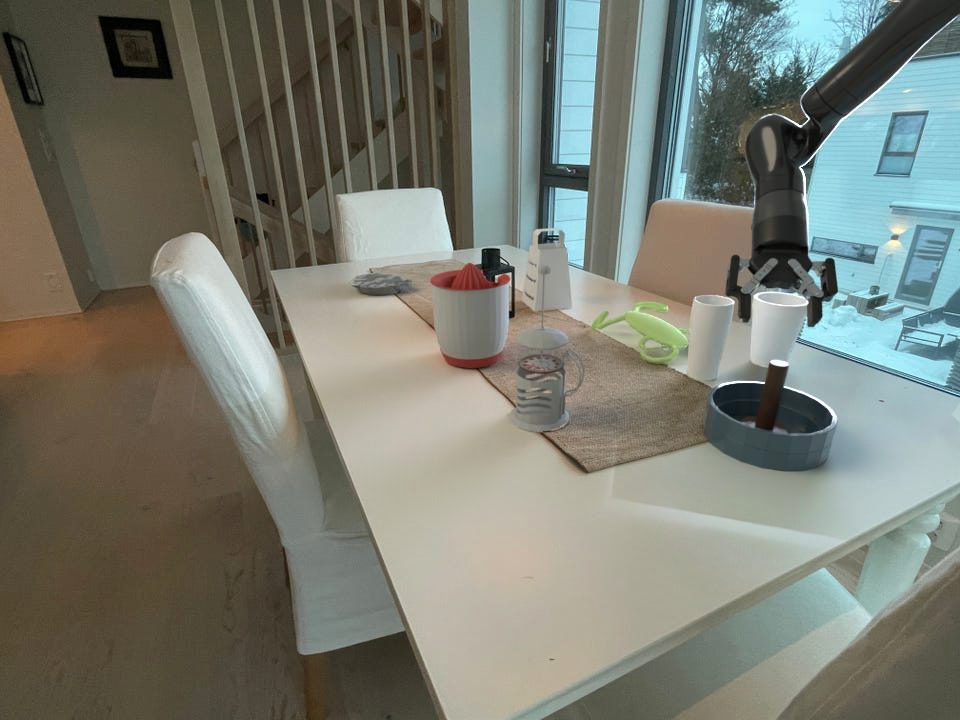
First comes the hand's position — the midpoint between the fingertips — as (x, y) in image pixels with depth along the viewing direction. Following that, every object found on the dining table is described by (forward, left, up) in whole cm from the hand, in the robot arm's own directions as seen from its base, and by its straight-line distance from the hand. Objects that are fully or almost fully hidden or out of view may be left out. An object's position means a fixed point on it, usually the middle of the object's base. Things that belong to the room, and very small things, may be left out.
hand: (779, 322), depth 74 cm
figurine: (+17, -33, -17) cm, 41 cm away
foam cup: (-6, -26, -17) cm, 31 cm away
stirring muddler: (0, +6, -16) cm, 17 cm away
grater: (+44, -53, -17) cm, 71 cm away
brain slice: (+96, -55, -17) cm, 112 cm away
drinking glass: (+7, -15, -17) cm, 24 cm away
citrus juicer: (+51, -13, -17) cm, 56 cm away
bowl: (0, +6, -17) cm, 18 cm away
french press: (+32, +8, -17) cm, 37 cm away
